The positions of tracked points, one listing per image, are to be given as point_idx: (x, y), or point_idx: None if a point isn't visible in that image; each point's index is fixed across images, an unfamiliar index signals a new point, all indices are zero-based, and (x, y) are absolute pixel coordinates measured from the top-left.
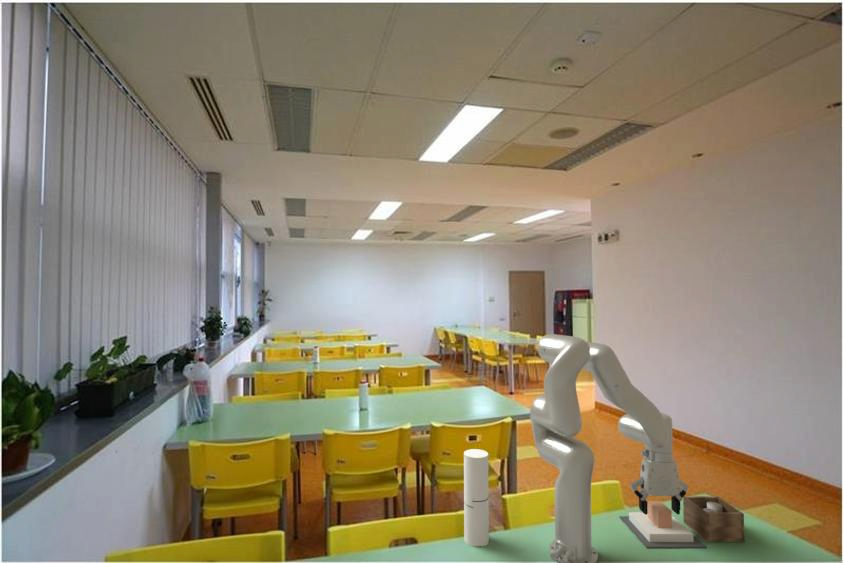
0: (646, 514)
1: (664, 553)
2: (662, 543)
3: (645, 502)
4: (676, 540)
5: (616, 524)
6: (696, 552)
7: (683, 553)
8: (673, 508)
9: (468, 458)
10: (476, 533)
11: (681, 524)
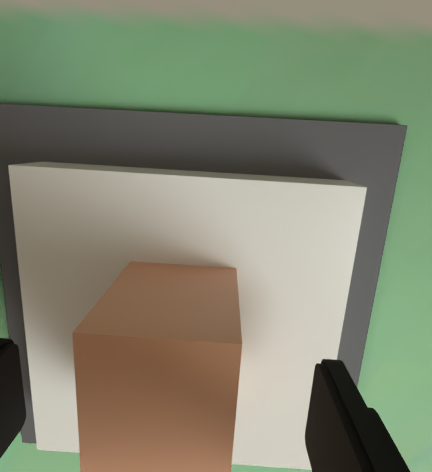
0: (323, 361)
1: (319, 53)
2: (267, 157)
3: (398, 468)
4: (157, 169)
5: (405, 395)
6: (86, 53)
7: (184, 45)
8: (7, 412)
9: None
10: None
11: (30, 301)
